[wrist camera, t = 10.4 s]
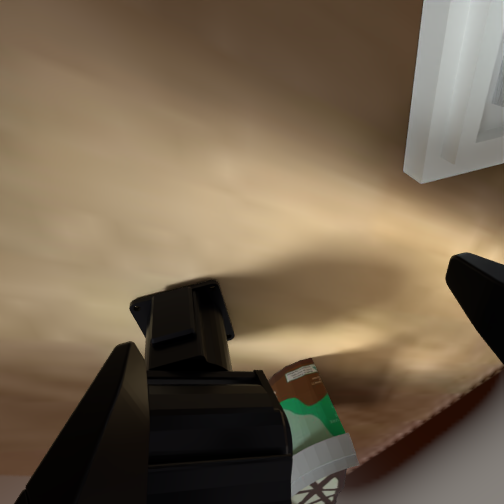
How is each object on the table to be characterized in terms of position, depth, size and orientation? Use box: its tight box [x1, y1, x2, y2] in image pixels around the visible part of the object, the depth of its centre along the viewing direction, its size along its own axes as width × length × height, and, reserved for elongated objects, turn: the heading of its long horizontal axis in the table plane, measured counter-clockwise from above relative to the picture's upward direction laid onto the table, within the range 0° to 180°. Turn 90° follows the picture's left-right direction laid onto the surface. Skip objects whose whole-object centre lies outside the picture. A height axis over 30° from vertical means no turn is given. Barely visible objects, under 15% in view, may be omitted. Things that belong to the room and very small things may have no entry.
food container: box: [268, 358, 359, 504], centre depth 31 cm, size 12×6×10 cm, turn 2°
